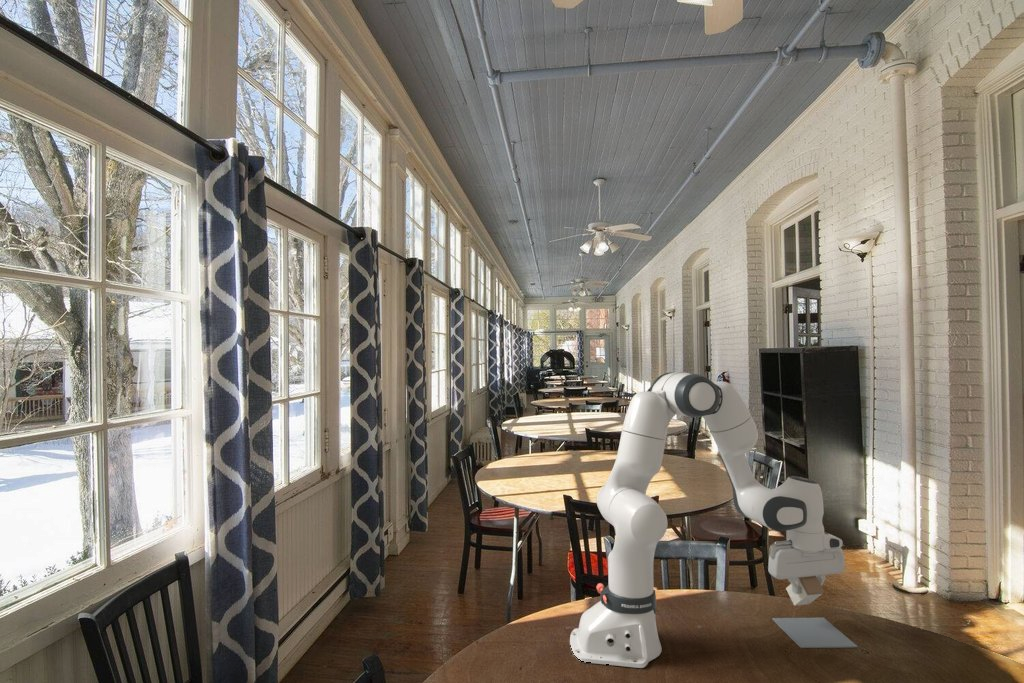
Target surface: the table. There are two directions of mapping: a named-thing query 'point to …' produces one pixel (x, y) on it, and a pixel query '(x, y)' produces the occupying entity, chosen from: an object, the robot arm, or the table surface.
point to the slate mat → (813, 633)
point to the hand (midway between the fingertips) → (807, 592)
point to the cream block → (806, 590)
